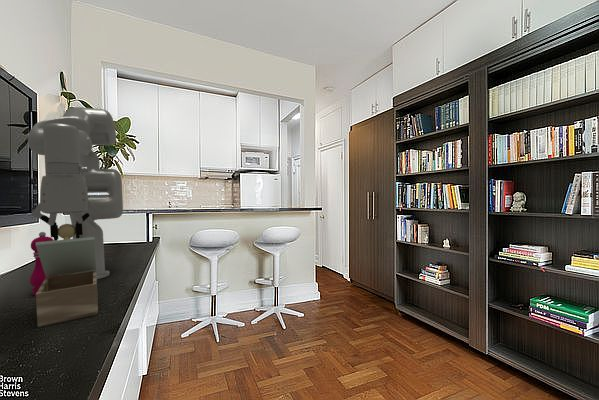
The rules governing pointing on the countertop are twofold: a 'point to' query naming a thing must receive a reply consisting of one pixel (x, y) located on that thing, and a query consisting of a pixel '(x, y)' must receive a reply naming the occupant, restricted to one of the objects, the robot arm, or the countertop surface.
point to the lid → (67, 253)
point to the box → (67, 298)
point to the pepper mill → (38, 264)
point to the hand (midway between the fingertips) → (67, 238)
